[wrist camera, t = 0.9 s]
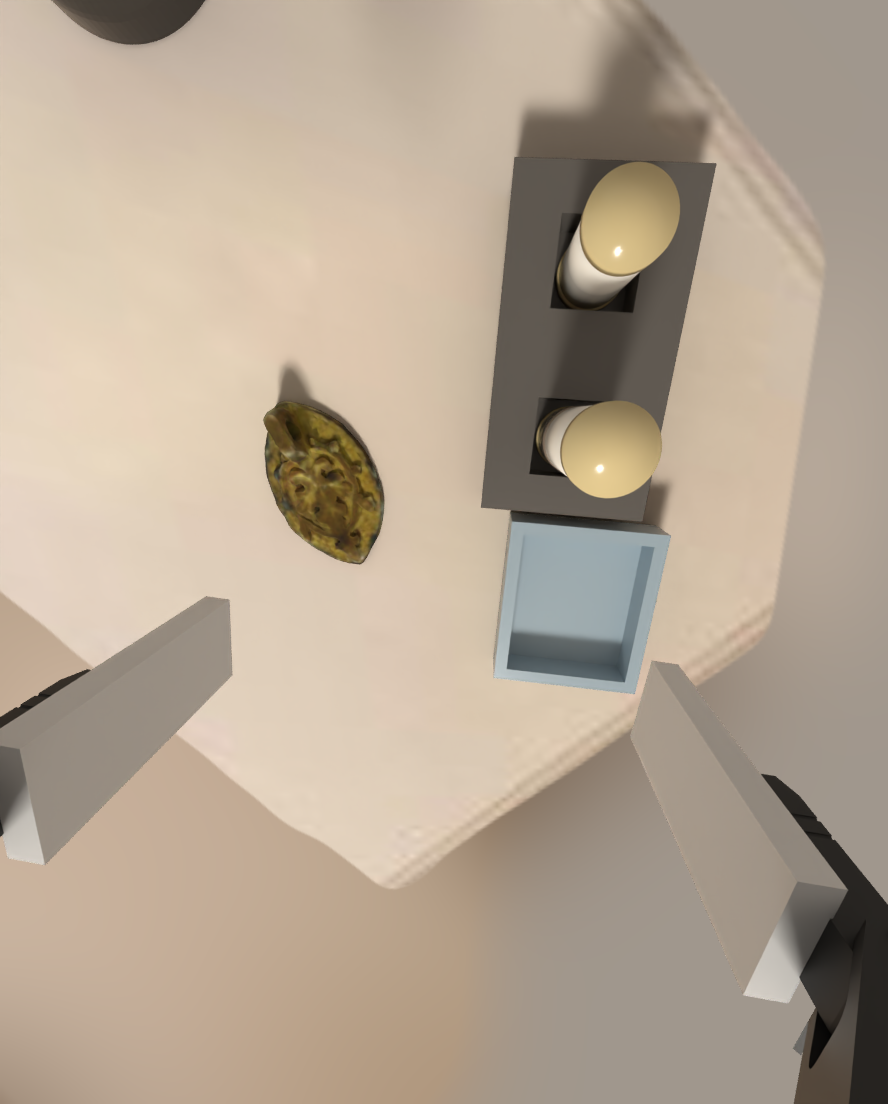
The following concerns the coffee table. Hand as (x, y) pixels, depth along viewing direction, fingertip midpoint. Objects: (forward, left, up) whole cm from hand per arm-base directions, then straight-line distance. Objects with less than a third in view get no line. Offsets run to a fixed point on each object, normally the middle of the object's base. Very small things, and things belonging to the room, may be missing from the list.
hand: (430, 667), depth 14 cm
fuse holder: (-12, +7, -26) cm, 29 cm away
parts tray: (+7, +10, -26) cm, 28 cm away
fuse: (-17, +7, -25) cm, 31 cm away
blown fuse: (-6, +7, -25) cm, 26 cm away
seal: (-1, -13, -26) cm, 29 cm away
